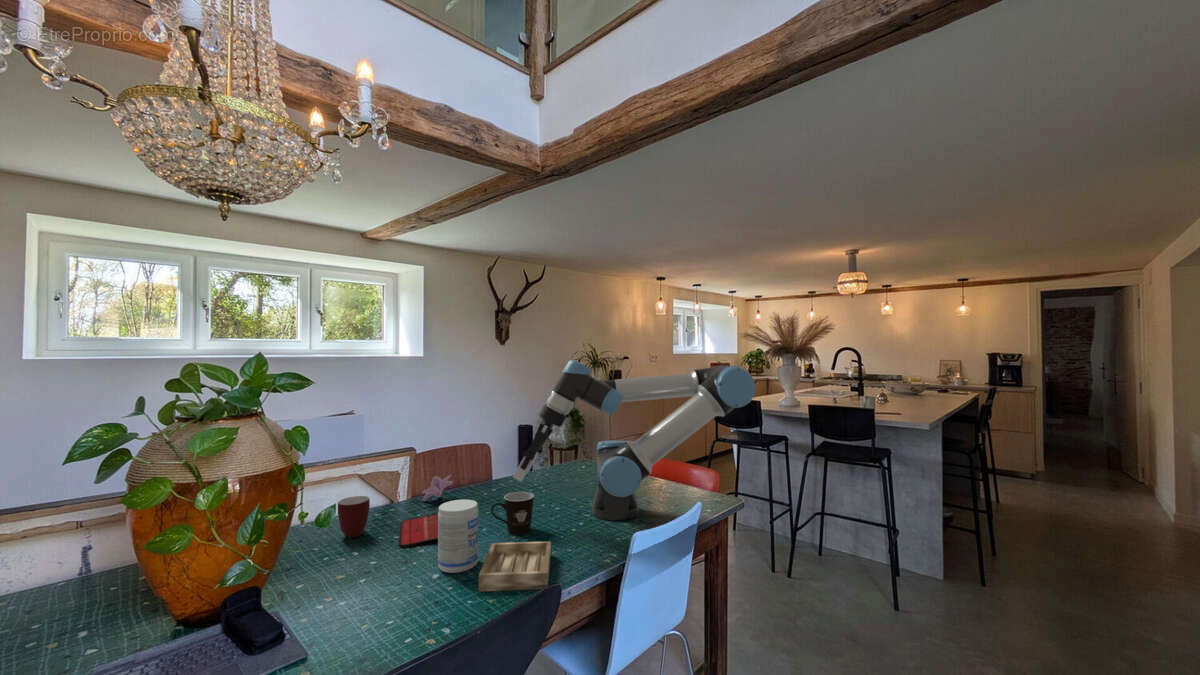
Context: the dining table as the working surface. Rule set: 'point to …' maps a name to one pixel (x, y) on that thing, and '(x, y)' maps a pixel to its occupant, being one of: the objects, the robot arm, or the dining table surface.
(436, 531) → the red book
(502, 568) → the slatted wooden tray
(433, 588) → the dining table surface
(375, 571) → the dining table surface
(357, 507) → the mug
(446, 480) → the lily
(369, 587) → the dining table surface
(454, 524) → the supplement tub
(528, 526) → the coffee mug
